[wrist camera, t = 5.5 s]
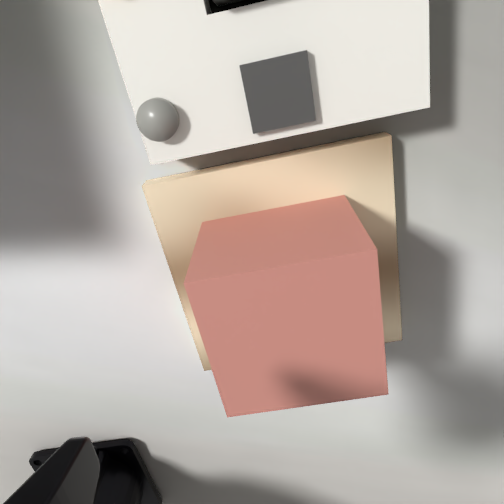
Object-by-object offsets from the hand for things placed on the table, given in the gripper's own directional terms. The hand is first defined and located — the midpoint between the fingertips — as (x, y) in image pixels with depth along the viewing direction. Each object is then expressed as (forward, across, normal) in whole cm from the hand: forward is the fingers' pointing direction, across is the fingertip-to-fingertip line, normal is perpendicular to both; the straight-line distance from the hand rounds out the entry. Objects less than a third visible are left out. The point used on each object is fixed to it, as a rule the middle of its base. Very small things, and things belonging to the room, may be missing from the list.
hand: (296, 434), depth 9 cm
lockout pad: (+11, 0, +1) cm, 11 cm away
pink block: (+10, 0, +1) cm, 10 cm away
